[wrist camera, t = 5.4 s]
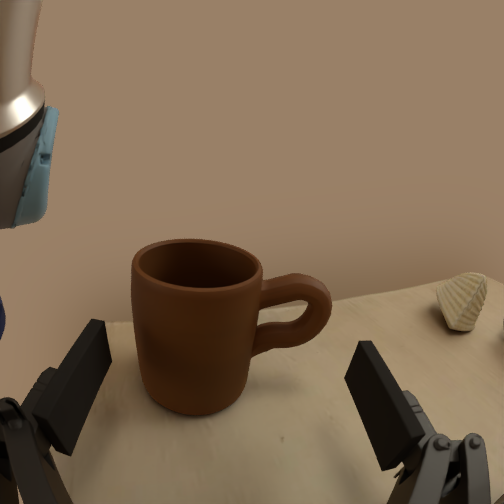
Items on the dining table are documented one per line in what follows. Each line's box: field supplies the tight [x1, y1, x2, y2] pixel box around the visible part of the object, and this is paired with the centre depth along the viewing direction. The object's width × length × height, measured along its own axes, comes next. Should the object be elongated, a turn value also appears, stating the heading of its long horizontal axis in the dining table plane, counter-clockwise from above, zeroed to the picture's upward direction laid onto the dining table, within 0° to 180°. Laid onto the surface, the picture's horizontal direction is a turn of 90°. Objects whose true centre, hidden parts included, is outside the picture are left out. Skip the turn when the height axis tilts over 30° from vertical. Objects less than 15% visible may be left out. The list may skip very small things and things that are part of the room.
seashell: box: [436, 273, 487, 331], centre depth 30 cm, size 8×8×8 cm
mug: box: [131, 239, 332, 415], centre depth 18 cm, size 12×8×9 cm, turn 90°
